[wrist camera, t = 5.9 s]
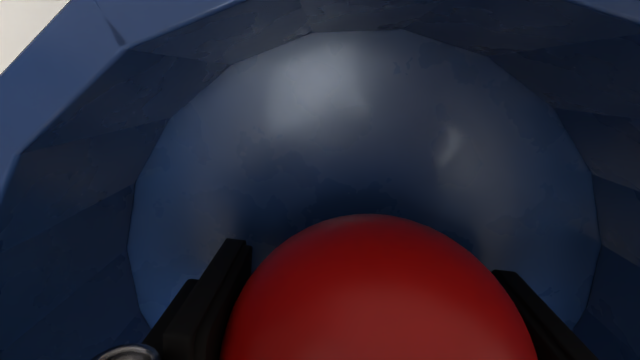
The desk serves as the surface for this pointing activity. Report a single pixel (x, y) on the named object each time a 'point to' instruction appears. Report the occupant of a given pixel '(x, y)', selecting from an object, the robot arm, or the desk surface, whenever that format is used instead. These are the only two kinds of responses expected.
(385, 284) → the apple
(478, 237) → the pot
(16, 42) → the desk surface
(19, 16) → the desk surface
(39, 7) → the desk surface
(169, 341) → the robot arm
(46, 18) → the desk surface
